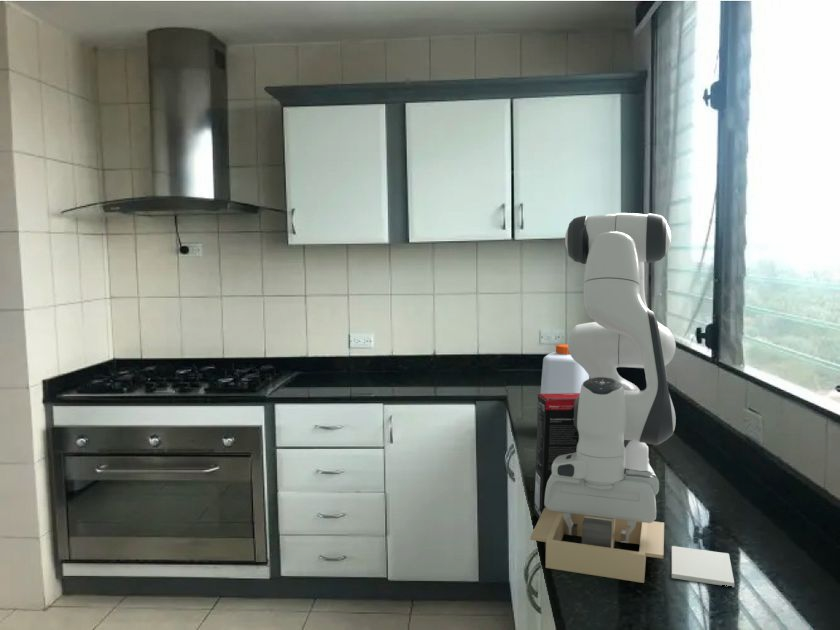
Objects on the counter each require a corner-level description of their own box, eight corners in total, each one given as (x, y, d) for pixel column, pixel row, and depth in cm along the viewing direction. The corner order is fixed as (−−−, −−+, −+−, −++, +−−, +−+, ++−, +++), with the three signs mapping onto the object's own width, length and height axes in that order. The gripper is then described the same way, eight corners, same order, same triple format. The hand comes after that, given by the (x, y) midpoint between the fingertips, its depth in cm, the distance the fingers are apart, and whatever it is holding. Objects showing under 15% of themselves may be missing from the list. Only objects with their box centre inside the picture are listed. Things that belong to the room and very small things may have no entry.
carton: (544, 529, 142) (545, 505, 142) (663, 545, 134) (664, 520, 134) (529, 565, 126) (529, 538, 126) (662, 585, 118) (663, 557, 118)
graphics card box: (609, 511, 152) (612, 389, 149) (621, 524, 145) (625, 396, 142) (533, 515, 150) (534, 391, 147) (542, 528, 143) (544, 398, 140)
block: (588, 541, 136) (588, 502, 135) (614, 545, 134) (615, 505, 134) (581, 565, 126) (582, 523, 125) (609, 570, 124) (610, 527, 123)
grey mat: (671, 549, 132) (671, 545, 132) (728, 557, 129) (728, 553, 129) (671, 578, 121) (671, 573, 121) (734, 587, 118) (734, 582, 118)
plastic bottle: (593, 432, 217) (595, 343, 214) (584, 444, 203) (586, 350, 200) (546, 426, 223) (547, 340, 220) (533, 438, 209) (535, 347, 207)
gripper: (659, 467, 128) (657, 539, 129) (548, 456, 135) (547, 524, 136) (659, 477, 122) (656, 553, 123) (543, 465, 129) (542, 537, 130)
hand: (598, 538), depth 130 cm, fingers open, 8 cm apart
